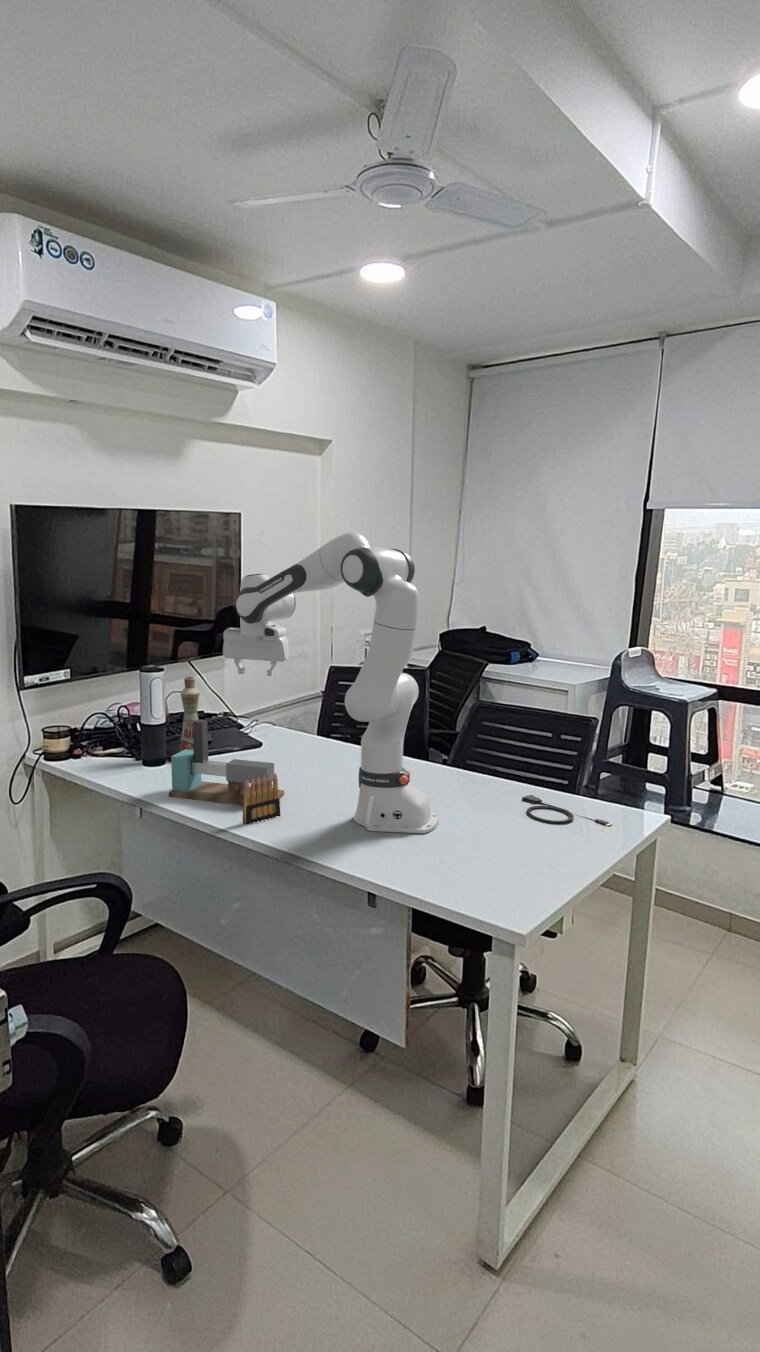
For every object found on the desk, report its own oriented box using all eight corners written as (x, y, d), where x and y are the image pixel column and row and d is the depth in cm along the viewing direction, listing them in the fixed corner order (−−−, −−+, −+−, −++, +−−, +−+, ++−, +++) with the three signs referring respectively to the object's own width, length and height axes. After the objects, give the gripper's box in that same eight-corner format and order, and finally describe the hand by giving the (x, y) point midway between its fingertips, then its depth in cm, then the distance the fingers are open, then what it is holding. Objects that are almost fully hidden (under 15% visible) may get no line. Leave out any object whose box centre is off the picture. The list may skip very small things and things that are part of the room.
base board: (284, 795, 226) (283, 776, 225) (267, 808, 214) (266, 789, 213) (189, 784, 234) (189, 767, 233) (168, 797, 222) (168, 778, 221)
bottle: (204, 753, 267) (202, 673, 262) (207, 760, 259) (205, 678, 254) (178, 755, 265) (175, 674, 260) (180, 762, 256) (177, 679, 251)
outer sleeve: (274, 779, 222) (274, 763, 221) (267, 785, 217) (266, 767, 216) (234, 775, 225) (234, 759, 224) (226, 780, 220) (226, 763, 219)
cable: (581, 839, 198) (581, 833, 197) (498, 808, 219) (498, 803, 219) (612, 827, 206) (612, 821, 206) (529, 798, 227) (529, 794, 227)
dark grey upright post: (244, 774, 223) (244, 723, 220) (239, 778, 220) (239, 725, 217) (185, 768, 228) (184, 718, 225) (179, 771, 225) (178, 720, 222)
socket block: (201, 783, 230) (200, 750, 228) (187, 791, 222) (186, 758, 221) (186, 781, 231) (185, 749, 230) (172, 790, 224) (171, 756, 222)
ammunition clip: (246, 825, 202) (245, 780, 200) (242, 823, 203) (241, 779, 201) (280, 816, 209) (280, 773, 207) (276, 814, 210) (276, 771, 208)
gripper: (218, 628, 230) (219, 674, 232) (282, 631, 225) (283, 678, 227) (228, 626, 236) (229, 670, 238) (291, 629, 231) (291, 675, 233)
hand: (255, 674), depth 233 cm, fingers open, 8 cm apart
